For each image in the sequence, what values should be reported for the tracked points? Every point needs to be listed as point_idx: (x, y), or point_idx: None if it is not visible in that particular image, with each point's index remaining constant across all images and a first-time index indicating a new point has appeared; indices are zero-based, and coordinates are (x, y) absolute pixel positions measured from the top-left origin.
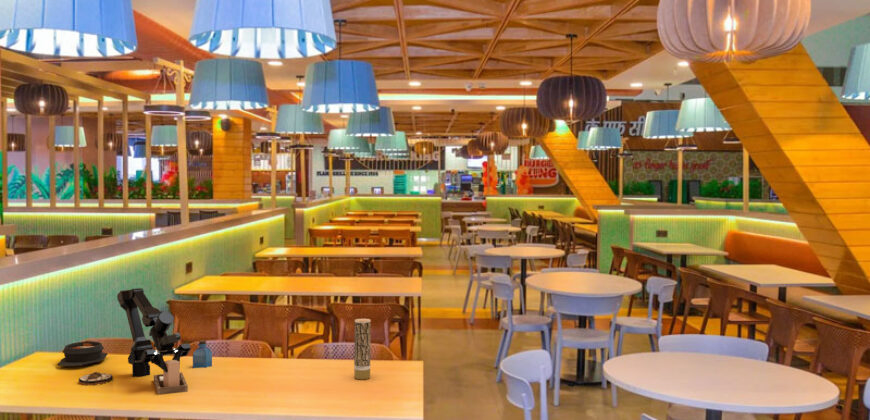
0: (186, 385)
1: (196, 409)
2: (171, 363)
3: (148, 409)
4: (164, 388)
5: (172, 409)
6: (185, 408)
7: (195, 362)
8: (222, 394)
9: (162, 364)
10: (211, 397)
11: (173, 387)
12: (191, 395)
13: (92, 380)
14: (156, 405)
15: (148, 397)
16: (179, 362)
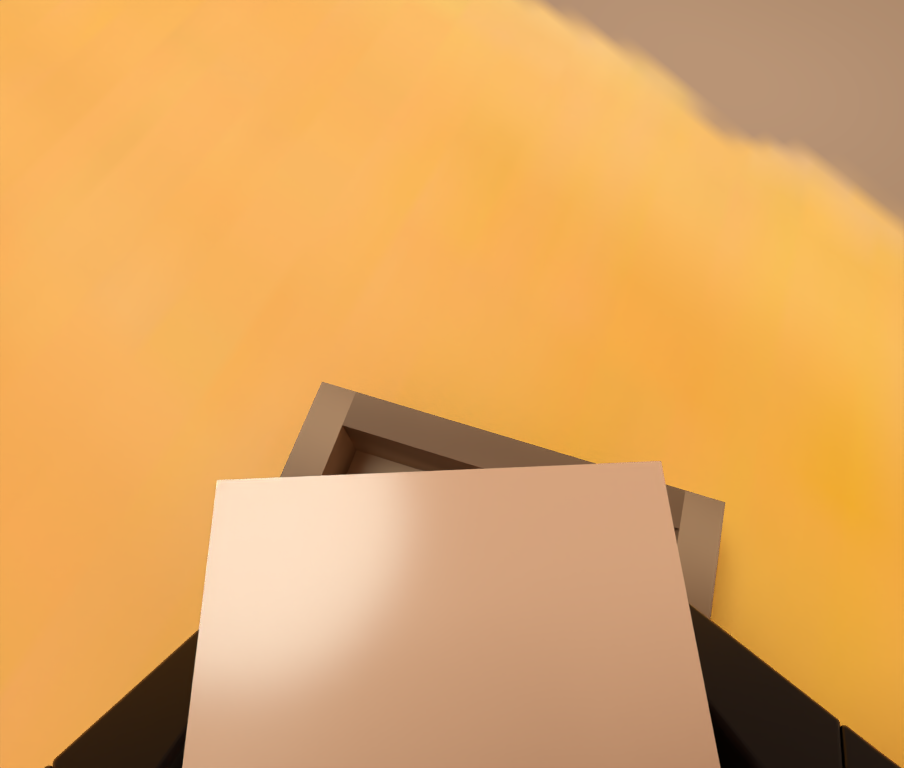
0: (335, 388)
1: (499, 3)
2: (540, 471)
3: (841, 191)
4: None
5: (655, 89)
6: (559, 57)
7: None
8: (116, 185)
9: (823, 731)
10: (245, 168)
11: (504, 440)
12: (348, 330)
13: None
14: (754, 248)
15: (785, 575)
16: (231, 483)
